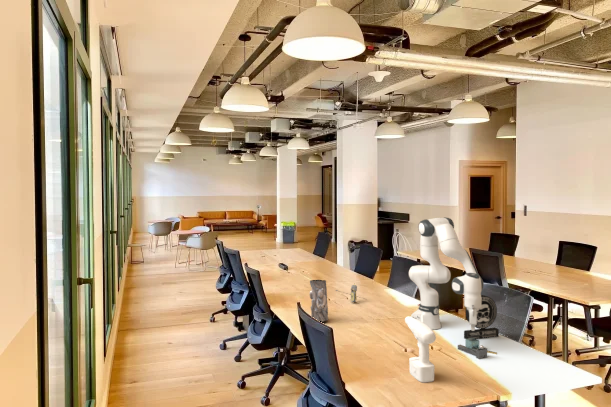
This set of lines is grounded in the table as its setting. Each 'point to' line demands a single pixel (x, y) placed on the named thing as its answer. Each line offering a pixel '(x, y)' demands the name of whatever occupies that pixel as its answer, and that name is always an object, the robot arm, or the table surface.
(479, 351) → the grey t-shaped bar
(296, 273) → the table surface
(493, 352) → the gold ball-headed pin
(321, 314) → the sculpture
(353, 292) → the toy
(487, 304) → the decorative sign
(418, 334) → the power drill
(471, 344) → the green knobbed cube
